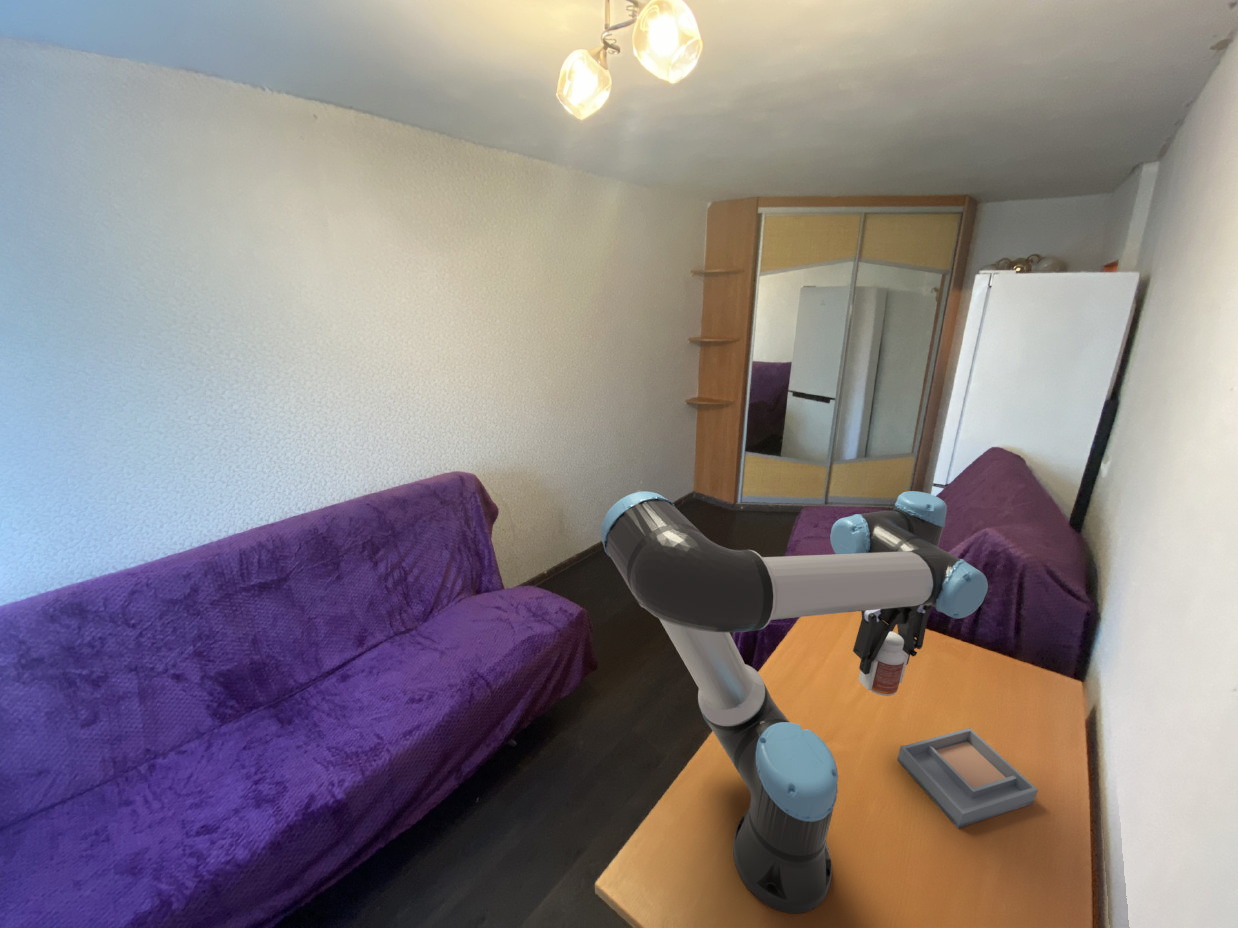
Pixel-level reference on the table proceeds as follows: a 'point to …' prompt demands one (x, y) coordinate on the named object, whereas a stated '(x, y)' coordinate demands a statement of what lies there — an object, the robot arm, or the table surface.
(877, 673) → the pill bottle
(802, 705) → the table surface
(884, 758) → the table surface
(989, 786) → the walled box
